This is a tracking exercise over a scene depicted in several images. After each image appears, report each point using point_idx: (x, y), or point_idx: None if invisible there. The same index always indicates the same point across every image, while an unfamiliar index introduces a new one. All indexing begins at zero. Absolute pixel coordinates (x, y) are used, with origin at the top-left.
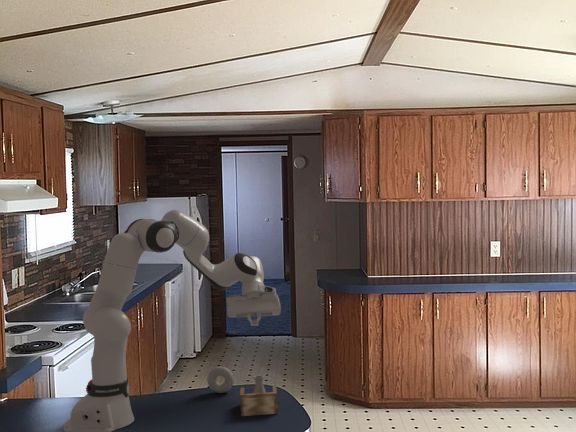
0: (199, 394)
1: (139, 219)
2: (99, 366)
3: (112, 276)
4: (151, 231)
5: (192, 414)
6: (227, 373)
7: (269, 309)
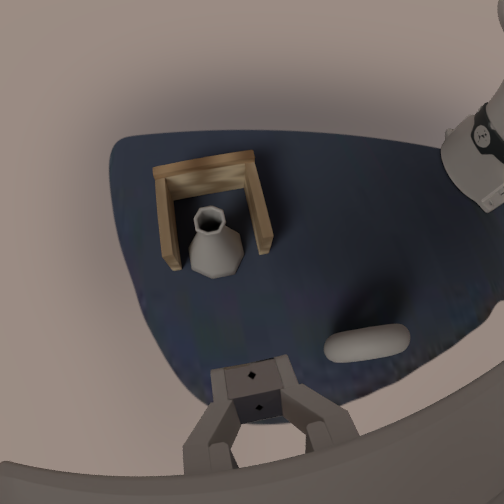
0: None
1: None
2: None
3: None
4: None
5: (365, 192)
6: (349, 332)
7: (69, 485)
